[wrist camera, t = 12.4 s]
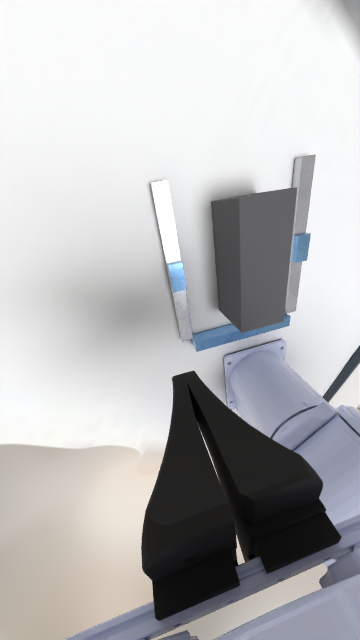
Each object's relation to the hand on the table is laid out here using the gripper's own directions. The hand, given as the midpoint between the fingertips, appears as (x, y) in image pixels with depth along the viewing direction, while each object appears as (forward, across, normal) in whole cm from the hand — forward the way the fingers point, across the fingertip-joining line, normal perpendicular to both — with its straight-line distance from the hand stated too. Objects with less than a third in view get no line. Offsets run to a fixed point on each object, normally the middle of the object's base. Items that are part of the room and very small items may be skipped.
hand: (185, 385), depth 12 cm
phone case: (+10, -28, +19) cm, 36 cm away
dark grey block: (+10, -8, -4) cm, 13 cm away
